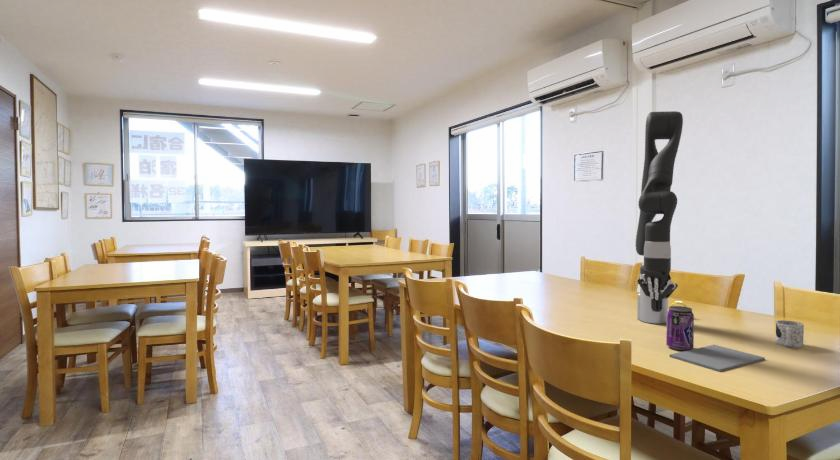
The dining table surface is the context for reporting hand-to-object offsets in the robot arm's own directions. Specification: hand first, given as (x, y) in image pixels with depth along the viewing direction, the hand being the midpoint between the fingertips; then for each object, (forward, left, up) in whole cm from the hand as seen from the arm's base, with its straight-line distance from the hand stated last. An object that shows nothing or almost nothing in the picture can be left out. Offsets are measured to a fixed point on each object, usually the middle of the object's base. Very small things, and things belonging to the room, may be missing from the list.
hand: (656, 311), depth 150 cm
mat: (+19, 0, -10) cm, 21 cm away
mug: (+22, +30, -10) cm, 39 cm away
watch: (-18, +36, -10) cm, 42 cm away
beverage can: (+8, 0, -10) cm, 13 cm away
